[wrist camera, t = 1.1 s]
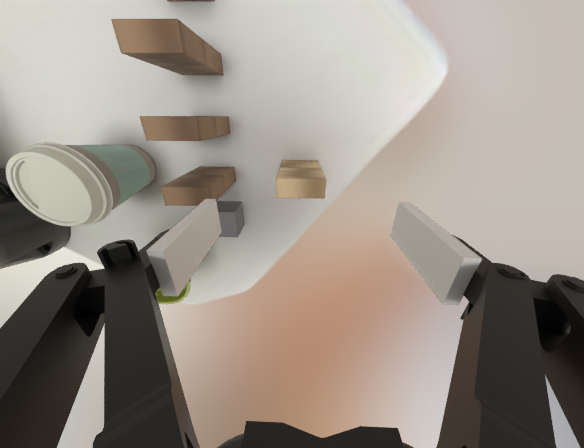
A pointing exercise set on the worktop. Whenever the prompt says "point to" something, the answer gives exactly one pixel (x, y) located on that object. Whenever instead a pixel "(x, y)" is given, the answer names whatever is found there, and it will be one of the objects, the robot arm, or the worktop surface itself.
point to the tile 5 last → (198, 186)
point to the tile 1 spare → (300, 180)
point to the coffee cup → (77, 180)
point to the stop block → (230, 218)
